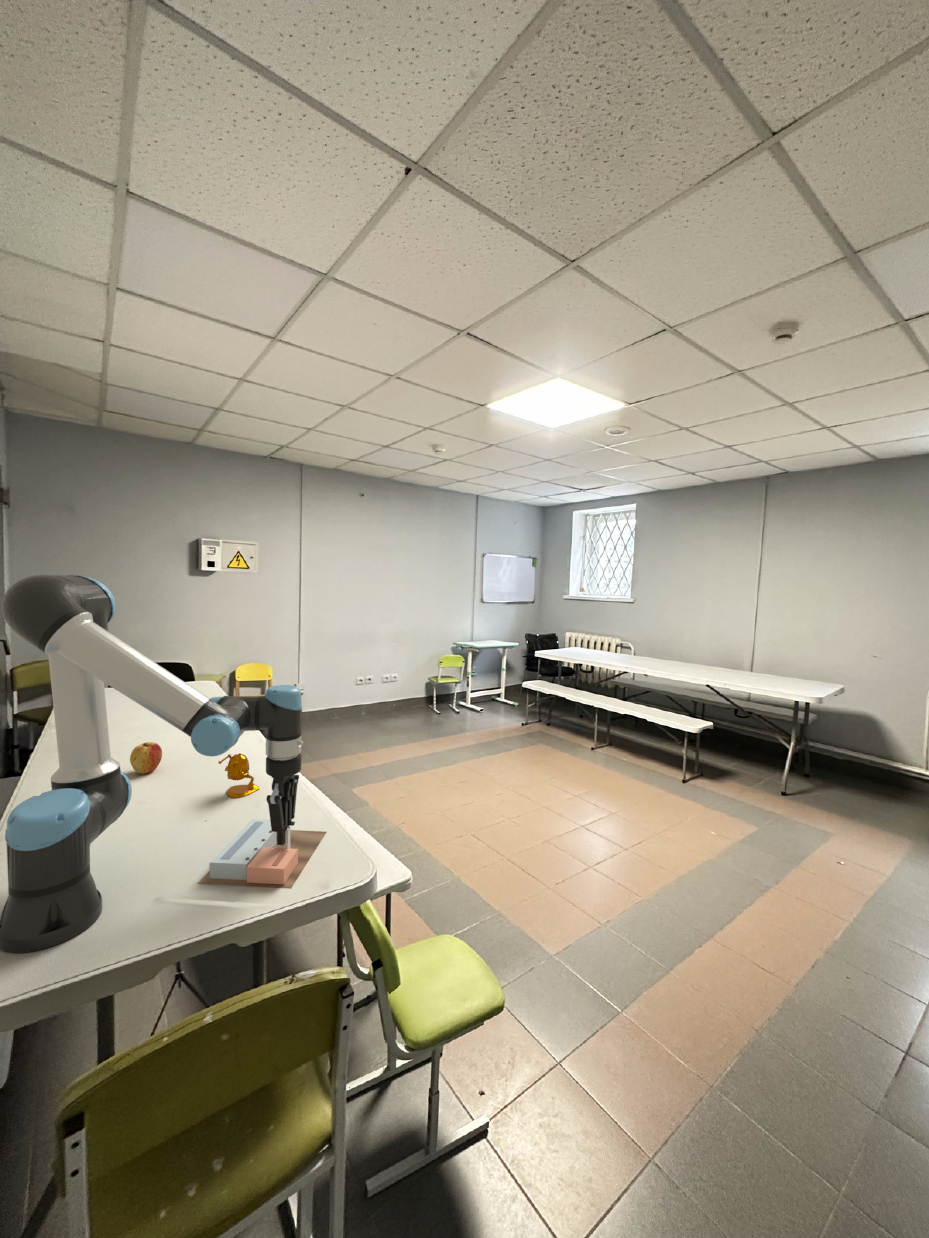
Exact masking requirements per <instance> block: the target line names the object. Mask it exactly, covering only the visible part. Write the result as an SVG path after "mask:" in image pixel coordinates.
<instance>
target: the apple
mask: <svg viewBox="0 0 929 1238" xmlns="http://www.w3.org/2000/svg"><path fill="white" fill-rule="evenodd" d="M162 757H163V751H162V747H161V746H160V745H159V744H158V743H157V742H154V741H153V742H152V741H151V742H150V741H148V742H144V743H141V744H139V745H137V746H135V747H133V749H132V751H131V753H130V756H129V763H130V765H131V767H132V769H133V770H134V771H135V772H136V773H137V774H139V775H146V774H150V773H152V772H154V771H155V770H156V769H157V768H158V766H159V765H160V763H161V761H162Z"/></svg>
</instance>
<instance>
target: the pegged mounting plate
mask: <svg viewBox="0 0 929 1238" xmlns="http://www.w3.org/2000/svg"><path fill="white" fill-rule="evenodd" d="M275 844H276V832H272V830H271V822H270V819H267V818H266V819H264V818H263V819H262V818H252V819H250V821H249V822H248V823H247V824H245V826H244V827H242V829H241V830H240V831H239V832H238V833H237V834H236V835H235V836H234V837H233V838H232V839H231V840H230V841H229V842H228V843H227V844H226V845H225V846H224V847H223V848H222V849H221V850H220V851H219V852H218V853H217V855H215V856H214V857H213V858H212V860H211V861H209V871H210V878H216V879H235V880H247V866H248V865H249V864H250V863H251V861H252V860H253V859H254V858H255V857H256V855H257V854H258V853H259V852H260V851H261V849H262V848H263V847H268V848H272V847H273V846H274V845H275Z"/></svg>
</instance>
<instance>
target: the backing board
mask: <svg viewBox="0 0 929 1238" xmlns="http://www.w3.org/2000/svg"><path fill="white" fill-rule="evenodd" d="M327 833H328V832H327V831H323V830H321V831H319V830H300V829H299V830H298V829H297V830H296V829H290V849H298V864H297V866H296V867H295V869H294V870H293V872H292V873H291V875H290V876H289V878H288V879H287V881H286V882H285V884H264V883H247V880H235V879H216V878H210V870H209V871H208V872H207V873H206V874H204V876H203V877H202V878H201V879H200V880H199V881H198V882H197V884H198V885H215V886H217V885H218V886H219V885H221V886H238V887H256V888H275V889H276V888H278V889H292V888H293V887H294V885H295V884H296V881H297V880H298V879H299V877H300V876H301V875H302V874H301V873H303V871H304V869H305V867H306V866H307V864H308V862H310V859H311V858H312V856H313V854H314V853H315V852H316V850H317V849H318V847H319V845H320V844H321V842H322V840H323V839H324V837H325V835H326V834H327ZM272 848H276V844H275V845H274V846H273V847H272Z"/></svg>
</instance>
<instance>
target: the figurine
mask: <svg viewBox="0 0 929 1238" xmlns="http://www.w3.org/2000/svg"><path fill="white" fill-rule="evenodd" d="M228 758H229V761H228V764H227V766H225V768H224V772H227V779H228V780H231V781H241V780H244V779H250V780H249V782H248V784H237V785H233V786H230V787H229V788H227V790H226V795H227V796H228V797H229V798H232V799H242V798H245V797H247V796H249V795H251V794H253V793H256V792H257V791H259V790H260V787H259V786H258V785H257V784H255V783H254V780H255V777H253V776H252V775H251V774H250V772H249V771H250V762H249V759H248V758H247V756H246V755H245V754H243V753H238V754H237V753H235V754H234V755H233V756H232V754H230V753H229V754H227V755H226V756H225V757H224V758H222V759H221V760H218V762H217V764H218V765H219V764H220V765H221V764H222V763H223V762H224V761H226V760H228Z"/></svg>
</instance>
